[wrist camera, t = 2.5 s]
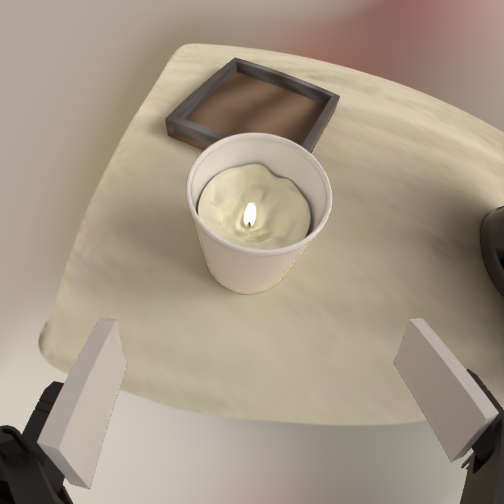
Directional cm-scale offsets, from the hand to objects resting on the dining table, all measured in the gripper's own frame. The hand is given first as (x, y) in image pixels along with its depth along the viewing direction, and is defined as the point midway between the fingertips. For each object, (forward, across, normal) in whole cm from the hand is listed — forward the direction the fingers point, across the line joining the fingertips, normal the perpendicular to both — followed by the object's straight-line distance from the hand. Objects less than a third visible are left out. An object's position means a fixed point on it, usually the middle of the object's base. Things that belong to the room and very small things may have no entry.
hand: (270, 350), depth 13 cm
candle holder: (+19, 0, -3) cm, 19 cm away
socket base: (+32, +2, +11) cm, 34 cm away
